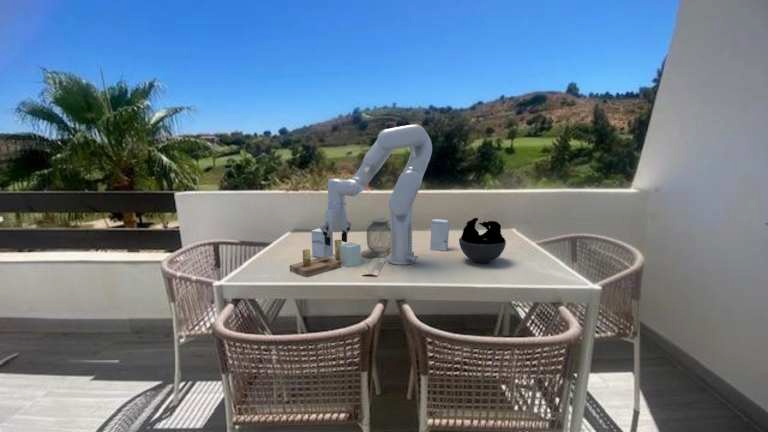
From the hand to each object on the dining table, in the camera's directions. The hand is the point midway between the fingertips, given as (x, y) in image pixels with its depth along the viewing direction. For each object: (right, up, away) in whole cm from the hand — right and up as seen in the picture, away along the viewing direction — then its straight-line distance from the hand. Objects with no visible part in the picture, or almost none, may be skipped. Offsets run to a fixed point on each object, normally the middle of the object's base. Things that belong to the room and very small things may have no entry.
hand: (336, 243), depth 176 cm
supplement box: (-7, -7, +8) cm, 13 cm away
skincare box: (+50, -4, +19) cm, 53 cm away
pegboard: (-7, -10, -13) cm, 17 cm away
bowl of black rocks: (+65, -8, -4) cm, 66 cm away
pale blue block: (+7, -9, -6) cm, 13 cm away
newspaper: (+18, -11, -12) cm, 24 cm away
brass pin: (+1, -8, +1) cm, 8 cm away
